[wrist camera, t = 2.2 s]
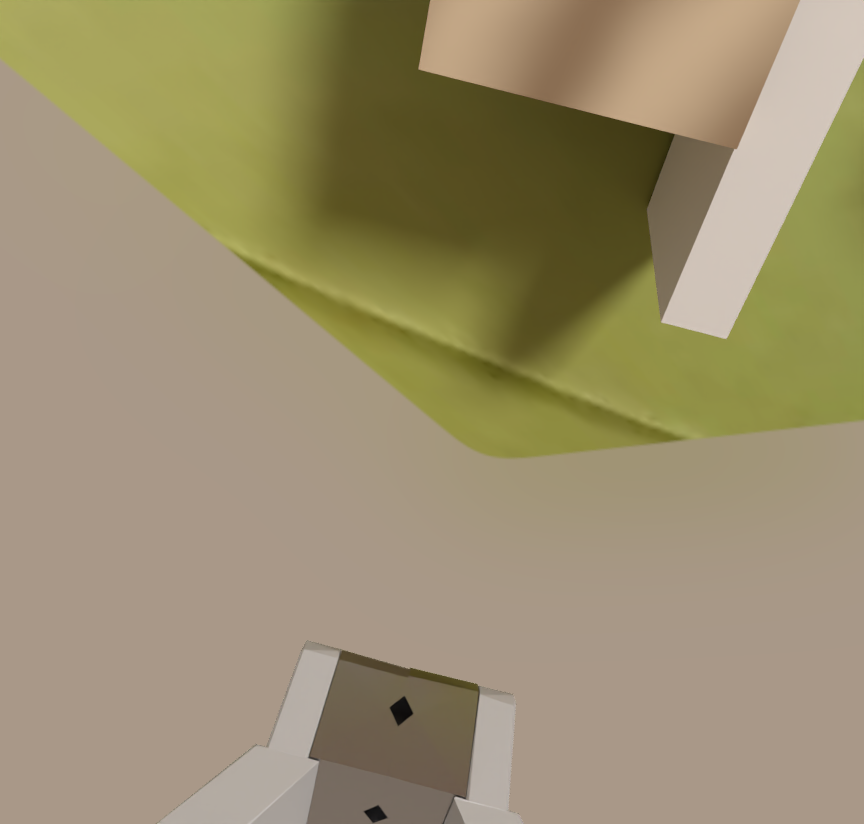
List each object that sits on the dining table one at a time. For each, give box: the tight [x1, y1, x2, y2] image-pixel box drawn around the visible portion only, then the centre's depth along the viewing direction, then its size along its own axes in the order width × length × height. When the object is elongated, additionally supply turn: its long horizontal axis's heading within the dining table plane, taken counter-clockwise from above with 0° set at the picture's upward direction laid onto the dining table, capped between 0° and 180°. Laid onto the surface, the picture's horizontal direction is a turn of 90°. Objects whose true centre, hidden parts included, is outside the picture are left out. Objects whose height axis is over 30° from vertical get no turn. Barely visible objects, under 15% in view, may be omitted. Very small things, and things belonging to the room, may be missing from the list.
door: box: [647, 0, 864, 339], centre depth 30 cm, size 4×12×12 cm, turn 169°
